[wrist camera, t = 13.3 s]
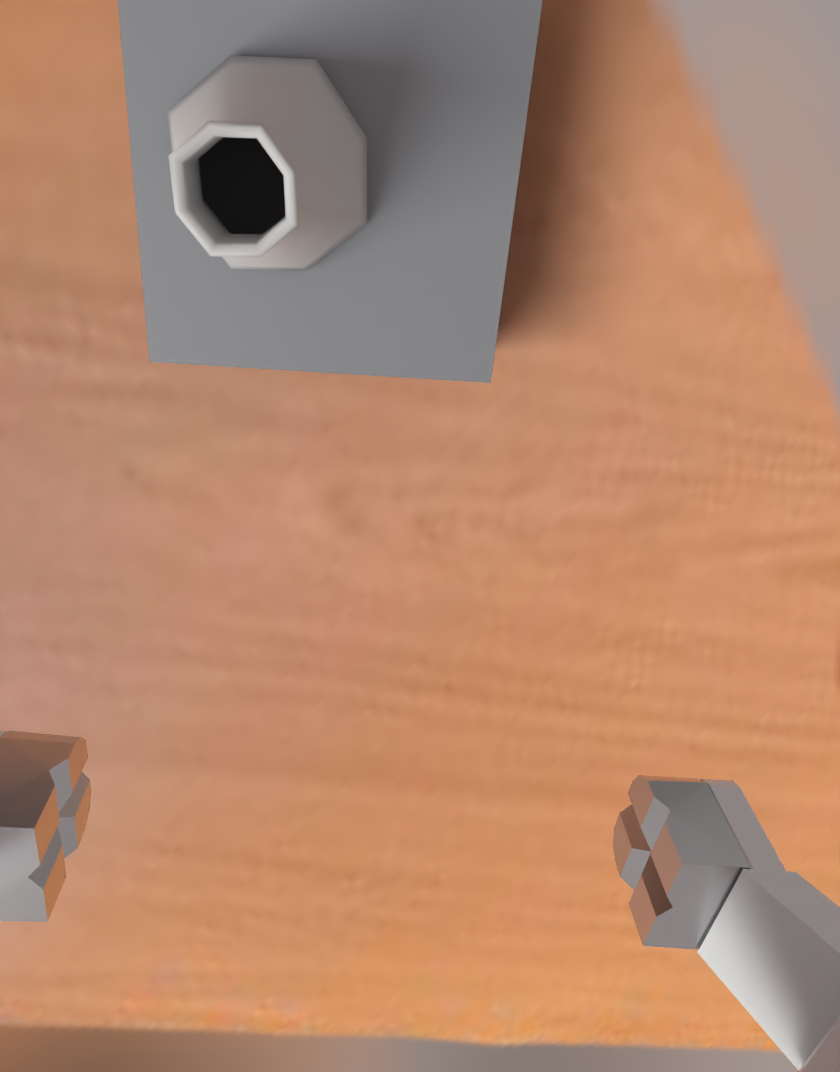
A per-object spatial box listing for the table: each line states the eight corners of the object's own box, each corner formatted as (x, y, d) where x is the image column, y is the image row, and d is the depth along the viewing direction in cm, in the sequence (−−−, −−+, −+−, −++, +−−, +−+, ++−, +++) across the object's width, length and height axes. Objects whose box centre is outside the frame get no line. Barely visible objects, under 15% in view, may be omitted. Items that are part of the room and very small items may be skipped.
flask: (332, 20, 25) (323, -34, 16) (397, 240, 29) (417, 291, 20) (132, 91, 26) (20, 75, 17) (220, 298, 29) (164, 374, 20)
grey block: (516, -3, 29) (545, -25, 25) (473, 351, 36) (490, 382, 32) (148, -48, 28) (110, -78, 23) (174, 331, 34) (149, 361, 30)
